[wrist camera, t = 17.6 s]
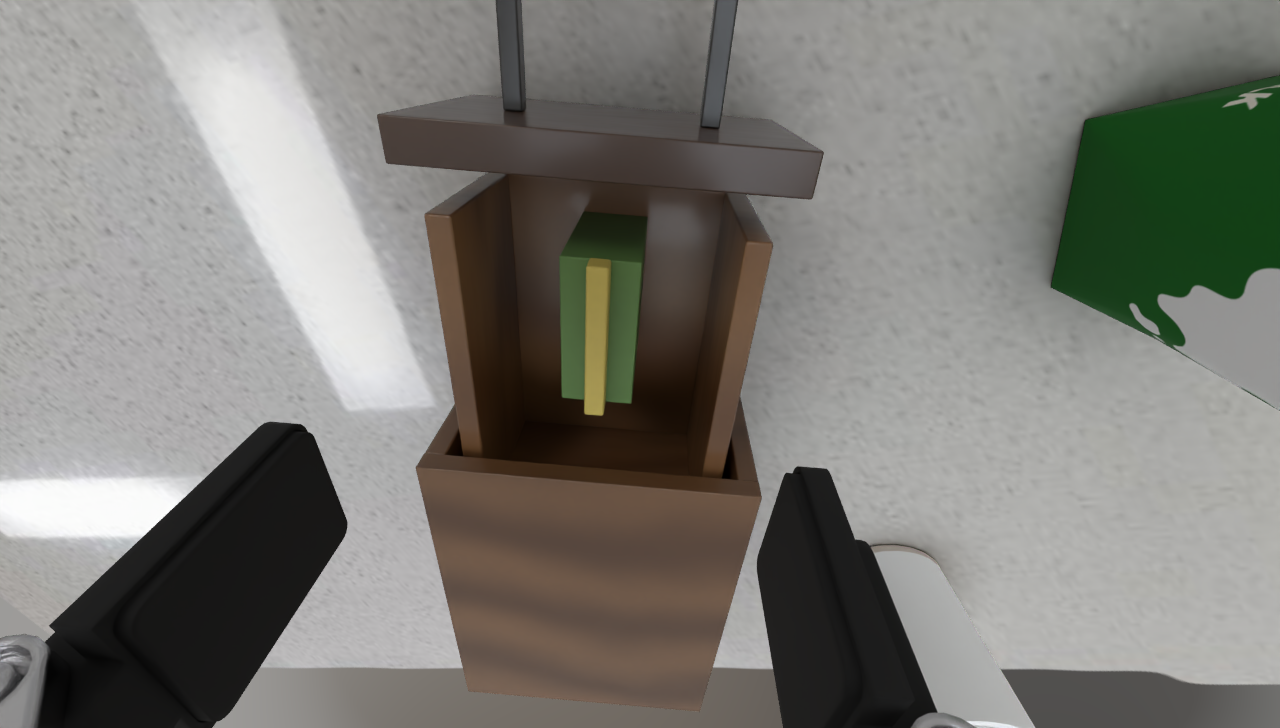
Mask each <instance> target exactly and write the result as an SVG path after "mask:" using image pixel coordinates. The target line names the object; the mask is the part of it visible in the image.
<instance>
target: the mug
mask: <svg viewBox="0 0 1280 728" xmlns="http://www.w3.org/2000/svg"><path fill="white" fill-rule="evenodd" d="M871 549H872V551H873V553H874V555H875V557H876V560H877V562H878V565H879V567H880V570H881V572H882V575H883V577H884V580H885V582H886V585H887V587H888V590H889V592H890V595H891V597H892V600H893V602H894V605H895V607H896V610H897V612H898V614H899V617H900V619H901V622H902V624H903V627H904V629H905V632H906V634H907V637H908V639H909V642H910V644H911V647H912V649H913V652H914V654H915V657H916V659H917V662H918V664H919V667H920V669H921V672H922V674H923V677H924V679H925V682H926V684H927V687H928V689H929V692H930V694H931V697H932V699H933V702H934V704H935V707H936V709H937V712H938V713H947V714H950V715H953V716H956V717H959V718H962V719H963V720H965V721H967V722H968V723H970V724H972V725H973V726H975V727H977V728H1035V727H1034V725H1033V723H1032V722H1031V720H1030V718H1029V717H1028V715H1027V713H1026V712H1025V710H1024V708H1023V706H1022V705H1021V703H1020V702H1019V700H1018V698H1017V697H1016V695H1015V693H1014V691H1013V690H1012V688H1011V686H1010V685H1009V683H1008V681H1007V680H1006V678H1005V676H1004V675H1003V673H1002V671H1001V670H1000V668H999V666H998V664H997V663H996V661H995V659H994V658H993V656H992V654H991V653H990V651H989V649H988V648H987V646H986V644H985V643H984V641H983V639H982V638H981V636H980V634H979V633H978V631H977V629H976V628H975V626H974V624H973V622H972V621H971V619H970V617H969V616H968V614H967V612H966V611H965V609H964V607H963V606H962V604H961V602H960V601H959V599H958V597H957V596H956V594H955V592H954V591H953V589H952V587H951V586H950V584H949V582H948V580H947V579H946V577H945V575H944V574H943V572H942V570H941V568H940V567H939V565H938V563H937V562H936V561H935V560H934V559H932V558H931V557H930V556H928V555H927V554H925V553H924V552H922V551H919V550H917V549H914V548H911V547H906V546H899V545H879V546H874V547H871Z"/></svg>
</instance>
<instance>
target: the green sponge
mask: <svg viewBox="0 0 1280 728" xmlns="http://www.w3.org/2000/svg"><path fill="white" fill-rule="evenodd" d="M647 223H648V217H644V216H633V215H621V214H609V213H597V212H585V211H584V212H583V214H582V215H581V217H580V219H579V221H578V223H577V225H576V227H575V228H574V230H573V232H572V234H571V236H570V238H569V240H568V241H567V243H566V245H565V247H564V249H563V251H562V252H561V254H560V256H559V274H560V331H561V388H562V398H569V399H581V400H584V413H585V414H587V415H599V416H602V415H603V414H604V409H605V403H606V402H616V403H627V404H631V402H632V394H633V384H634V374H635V365H636V355H637V346H638V336H639V324H640V311H641V298H642V286H643V273H644V261H645V248H646V235H647Z"/></svg>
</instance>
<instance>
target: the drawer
mask: <svg viewBox="0 0 1280 728" xmlns="http://www.w3.org/2000/svg"><path fill="white" fill-rule="evenodd" d="M737 5H738V0H714V8H713V16H712V24H711V33H710V41H709V49H708V57H707V65H706V74H705V82H704V90H703V98H702V106H701V114H698V113H686V112H674V111H662V110H650V109H638V108H627V107H615V106H603V105H591V104H579V103H567V102H555V101H543V100H531V99H526V88H525V67H524V46H523V24H522V3H521V0H496V13H497V27H498V41H499V56H500V70H501V85H502V97H496V96H484V95H469V96H464V97H460V98H455V99H450V100H445V101H440V102H435V103H430V104H425V105H420V106H415V107H410V108H405V109H400V110H396V111H391V112H386V113H381V114H378V115H377V118H378V123H379V129H380V134H381V139H382V144H383V149H384V154H385V160H386V163H388V164H395V165H407V166H419V167H431V168H443V169H455V170H466V171H478V172H488V173H487V174H485V175H484V176H482V177H480V178H479V179H477V180H476V181H474V182H473V183H471V184H470V185H468V186H467V187H465V188H464V189H462V190H461V191H459V192H457V193H456V194H454V195H453V196H451V197H450V198H448V199H447V200H445V201H444V202H442V203H441V204H439V205H438V206H436V207H434V208H433V209H431V210H430V211H428V212H427V213H425V222H426V228H427V234H428V240H429V247H430V253H431V259H432V265H433V271H434V277H435V284H436V290H437V296H438V302H439V308H440V314H441V321H442V327H443V333H444V339H445V345H446V351H447V358H448V364H449V370H450V376H451V382H452V388H453V395H454V401H455V407H456V413H457V419H458V425H459V432H460V438H461V444H462V450H463V456H464V457H475V458H487V459H499V460H510V461H522V462H533V463H545V464H556V465H568V466H580V467H591V468H603V469H614V470H626V471H638V472H649V473H661V474H672V475H684V476H696V477H707V478H719V479H722V475H723V470H724V466H725V461H726V457H727V452H728V448H729V443H730V439H731V434H732V430H733V425H734V421H735V416H736V411H737V407H738V402H739V398H740V393H741V389H742V384H743V380H744V375H745V371H746V366H747V362H748V357H749V353H750V348H751V344H752V339H753V335H754V330H755V326H756V321H757V317H758V312H759V307H760V303H761V298H762V294H763V289H764V285H765V280H766V276H767V271H768V267H769V262H770V258H771V253H772V249H773V242H772V241H771V239H770V237H769V235H768V233H767V232H766V230H765V228H764V226H763V224H762V223H761V221H760V219H759V217H758V215H757V214H756V212H755V210H754V208H753V207H752V205H751V203H750V201H749V199H748V198H747V196H746V194H750V195H762V196H774V197H786V198H798V199H812V198H813V194H814V190H815V186H816V182H817V178H818V174H819V171H820V167H821V163H822V159H823V155H824V152H823V151H821V150H819V149H818V148H816V147H815V146H813V145H811V144H810V143H808V142H807V141H805V140H803V139H802V138H800V137H799V136H797V135H795V134H794V133H792V132H791V131H789V130H787V129H786V128H784V127H783V126H781V125H779V124H778V123H776V122H775V121H773V120H769V119H757V118H746V117H734V116H722V110H723V103H724V96H725V89H726V82H727V75H728V68H729V61H730V54H731V47H732V40H733V33H734V26H735V19H736V12H737ZM584 211H585V212H597V213H609V214H621V215H633V216H644V217H648V223H647V235H646V248H645V261H644V273H643V286H642V298H641V311H640V324H639V336H638V346H637V355H636V365H635V374H634V384H633V394H632V402H631V404H627V403H616V402H606V403H605V409H604V414H603V415H602V416H599V415H587V414H585V413H584V400H581V399H569V398H562V388H561V331H560V274H559V256H560V254H561V252H562V251H563V249H564V247H565V245H566V243H567V241H568V240H569V238H570V236H571V234H572V232H573V230H574V228H575V227H576V225H577V223H578V221H579V219H580V217H581V215H582V214H583V212H584Z"/></svg>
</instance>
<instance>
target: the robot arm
mask: <svg viewBox="0 0 1280 728" xmlns="http://www.w3.org/2000/svg"><path fill="white" fill-rule="evenodd" d="M346 531H347V519H346V517H345V514H344V512H343V509H342V507H341V504H340V501H339V499H338V496H337V494H336V491H335V489H334V486H333V484H332V481H331V479H330V476H329V473H328V471H327V468H326V466H325V463H324V461H323V458H322V456H321V453H320V451H319V448H318V445H317V443H316V440H315V438H314V436H313V434H311V433H309V432H308V431H307V430H306V428H305V427H304V426H303V425H301V424H291V423H279V422H267V423H264V424H263V425H261V426H260V427H259V428H258V429H257V430H256V431H255V432H253V433H252V434H251V435H250V436H249V437H248V438H247V439H246V440H245V441H244V442H243V443H242V444H241V445H240V446H239V447H238V448H237V449H236V450H234V451H233V452H232V453H231V454H230V455H229V456H228V457H227V458H226V459H225V460H224V461H223V462H222V463H221V464H220V465H219V466H218V467H216V468H215V469H214V470H213V471H212V472H211V473H210V474H209V475H208V476H207V477H206V478H205V479H204V480H203V481H202V482H201V483H200V484H198V485H197V486H196V487H195V488H194V489H193V490H192V491H191V492H190V493H189V494H188V495H187V496H186V497H185V498H184V499H183V500H182V501H181V502H179V503H178V504H177V505H176V506H175V507H174V508H173V509H172V510H171V511H170V512H169V513H168V514H167V515H166V516H165V517H164V518H163V519H161V520H160V521H159V522H158V523H157V524H156V525H155V526H154V527H153V528H152V529H151V530H150V531H149V532H148V533H147V534H146V535H145V536H143V537H142V538H141V539H140V540H139V541H138V542H137V543H136V544H135V545H134V546H133V547H132V548H131V549H130V550H129V551H128V552H127V553H125V554H124V555H123V556H122V557H121V558H120V559H119V560H118V561H117V562H116V563H115V564H114V565H113V566H112V567H111V568H110V569H109V570H108V571H106V572H105V573H104V574H103V575H102V576H101V577H100V578H99V579H98V580H97V581H96V582H95V583H94V584H93V585H92V586H91V587H90V588H88V589H87V590H86V591H85V592H84V593H83V594H82V595H81V596H80V597H79V598H78V599H77V600H76V601H75V602H74V603H73V604H72V605H70V606H69V607H68V608H67V609H66V610H65V611H64V612H63V613H62V614H61V615H60V616H59V617H58V618H57V619H56V620H55V621H54V622H53V623H51V624H50V625H49V626H50V627H51V628H52V629H53V630H54V631H55V633H54V634H53V635H52V636H51V637H50V638H49V639H48V640H46V642H44V641H43V640H42V639H40V638H39V637H37V636H32V635H27V634H21V635H13V636H5V637H2V638H0V728H212V727H213V726H214V724H215V723H216V722H217V721H220V720H222V719H223V718H225V717H226V716H227V715H228V714H229V713H230V711H231V710H232V709H233V707H234V706H235V704H236V703H237V701H238V700H239V698H240V697H241V695H242V694H243V692H244V691H245V689H246V687H247V686H248V684H249V683H250V681H251V679H252V678H253V677H254V675H255V674H256V672H257V671H258V669H259V668H260V666H261V664H262V663H263V661H264V660H265V658H266V657H267V655H268V654H269V652H270V651H271V649H272V648H273V646H274V645H275V643H276V641H277V640H278V638H279V637H280V635H281V634H282V632H283V631H284V629H285V628H286V626H287V625H288V623H289V622H290V620H291V618H292V617H293V615H294V614H295V612H296V611H297V609H298V608H299V606H300V605H301V603H302V602H303V600H304V598H305V597H306V595H307V594H308V592H309V591H310V589H311V588H312V586H313V585H314V583H315V582H316V580H317V579H318V577H319V575H320V574H321V572H322V571H323V569H324V568H325V566H326V565H327V563H328V562H329V560H330V559H331V557H332V556H333V554H334V552H335V551H336V549H337V548H338V546H339V545H340V543H341V542H342V540H343V538H344V536H345V534H346ZM757 574H758V580H759V586H760V592H761V598H762V604H763V610H764V616H765V622H766V628H767V634H768V640H769V646H770V652H771V658H772V664H773V670H774V675H775V681H776V688H777V693H778V700H779V705H780V712H781V718H782V723H783V728H977V727H975V726H973V725H972V724H970V723H968V722H967V721H965V720H963V719H962V718H959V717H956V716H953V715H950V714H947V713H938V712H937V709H936V707H935V704H934V702H933V699H932V697H931V694H930V692H929V689H928V687H927V684H926V682H925V679H924V677H923V674H922V672H921V669H920V667H919V664H918V662H917V659H916V657H915V654H914V652H913V649H912V647H911V644H910V642H909V639H908V637H907V634H906V632H905V629H904V627H903V624H902V622H901V619H900V617H899V614H898V612H897V610H896V607H895V605H894V602H893V600H892V597H891V595H890V592H889V590H888V587H887V585H886V582H885V580H884V577H883V575H882V572H881V570H880V567H879V565H878V562H877V560H876V557H875V555H874V553H873V551H872V549H871V547H870V546H869V545H868V544H867V543H866V542H865V541H862V540H855V538H854V536H853V533H852V530H851V528H850V525H849V522H848V520H847V517H846V514H845V512H844V509H843V506H842V504H841V501H840V498H839V496H838V493H837V490H836V488H835V485H834V482H833V480H832V477H831V475H830V473H829V471H828V470H827V469H822V468H810V467H796V468H795V469H794V471H793V473H786V474H785V475H784V477H783V481H782V484H781V487H780V490H779V493H778V496H777V499H776V502H775V505H774V508H773V511H772V514H771V517H770V520H769V523H768V527H767V530H766V533H765V536H764V539H763V542H762V545H761V548H760V551H759V554H758V559H757Z"/></svg>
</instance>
